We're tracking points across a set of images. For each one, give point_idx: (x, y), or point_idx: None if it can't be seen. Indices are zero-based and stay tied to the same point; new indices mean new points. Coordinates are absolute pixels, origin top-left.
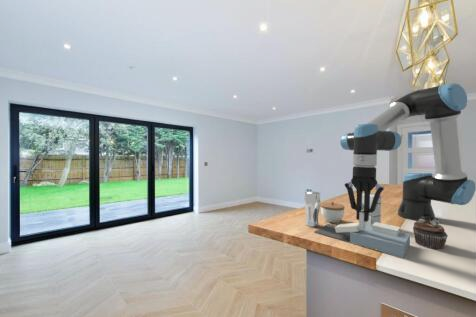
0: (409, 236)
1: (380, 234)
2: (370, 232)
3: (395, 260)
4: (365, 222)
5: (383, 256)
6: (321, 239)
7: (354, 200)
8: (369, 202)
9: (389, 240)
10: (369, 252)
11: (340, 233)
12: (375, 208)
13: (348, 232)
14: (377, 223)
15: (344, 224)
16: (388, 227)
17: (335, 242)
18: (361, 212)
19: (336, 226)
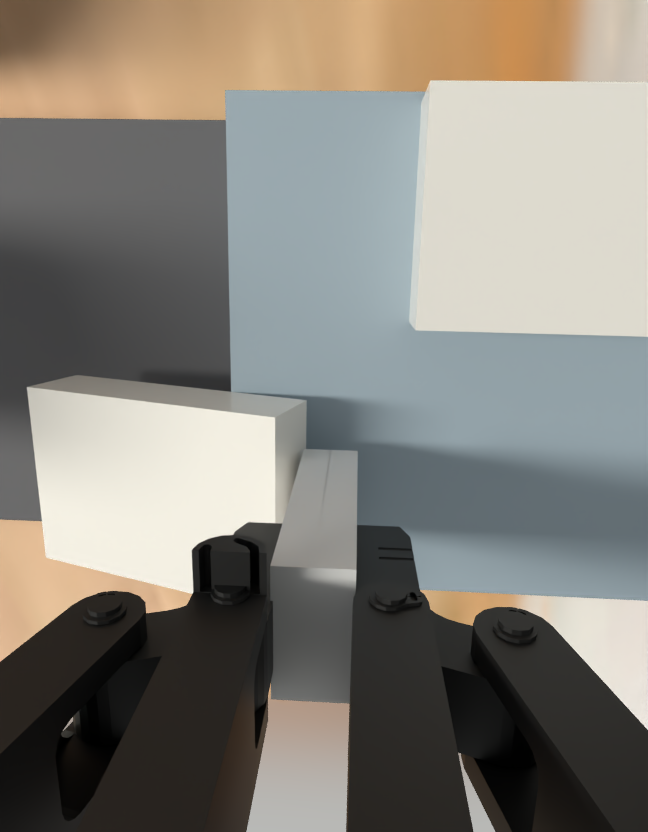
0: None
1: (524, 406)
2: (413, 421)
3: (633, 623)
4: (356, 486)
5: (547, 611)
6: (42, 621)
7: (30, 789)
8: (456, 782)
9: (628, 542)
10: (442, 610)
11: (97, 371)
12: (578, 669)
13: (144, 267)
14: (470, 158)
15: (97, 446)
16: (637, 262)
17: (158, 601)
18: (304, 686)
19: (47, 520)
